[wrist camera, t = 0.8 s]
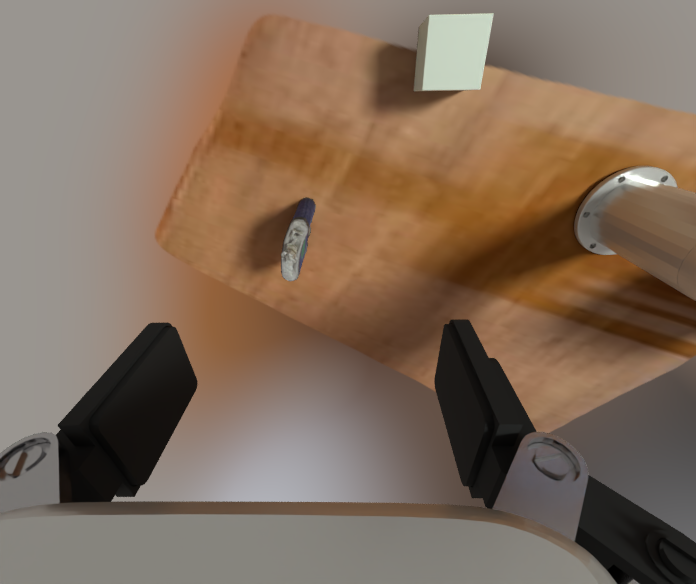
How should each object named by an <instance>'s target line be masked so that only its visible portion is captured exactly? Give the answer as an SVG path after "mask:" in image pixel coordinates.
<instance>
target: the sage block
mask: <svg viewBox="0 0 696 584" xmlns="http://www.w3.org/2000/svg"><path fill="white" fill-rule="evenodd" d="M492 20H493V14H452V15H429V16H428V17H427V18H426V20H425V21H424V22H423V23H422V24H421V25H420V26H419V31H418V43H417V56H416V69H415V81H414V91H458V90H478V89H480V88H481V82H482V76H483V71H484V65H485V59H486V54H487V47H488V42H489V37H490V31H491V25H492Z"/></svg>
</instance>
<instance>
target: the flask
mask: <svg viewBox="0 0 696 584" xmlns="http://www.w3.org/2000/svg"><path fill="white" fill-rule="evenodd" d="M315 208H316V205H315V202H314V201H313V199H310V198H303V199H302V200H301V201H300V203H299V205H298V207H297V210H296V212H295V215H294V217H293V219H292V221H291V223H290V225H289V227H288V230H287V233H286V235H285V238H284V242H283V248H282V254H281V273H282V276H283V278H284V279H286V280H288V281H294V280H297V278H298V276H299V274H300V269H301V266H302V262H303V259H304V256H305V253H306V251H307V246H308V242H307V241H308V238H309V236H310V233H311V228H310V224H311V222H312V218H313V215H314V212H315Z"/></svg>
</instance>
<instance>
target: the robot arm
mask: <svg viewBox="0 0 696 584" xmlns="http://www.w3.org/2000/svg"><path fill="white" fill-rule="evenodd" d="M574 231H575V236H576V238H577V240H578V242H579V243H580V244H581V245H582V246H583V247H584V248H586V249H587V250H589V251H591V252H593V253H596V254H601V255H613V254H618V255H620V256H621V257H623V258H625V259H626V260H628V261H630V262H631V263H633V264H635V265H636V266H638V267H640V268H641V269H643V270H645V271H646V272H648V273H650V274H651V275H653V276H655V277H656V278H658V279H660V280H661V281H663V282H665V283H666V284H668V285H670V286H671V287H673V288H675V289H676V290H678V291H680V292H681V293H683V294H685V295H686V296H688V297H690V298H691V299H693V300H695V301H696V193H694V192H691V191H687V190H684V189H680V188H678V187H677V184H676V181H675V179H674V178H673V177H672V175H671V174H669V173H668V172H667V171H665V170H663V169H660V168H657V167H652V166H635V167H630V168H627V169H624V170H621V171H618V172H617V173H615V174H613V175H611V176H609V177H607V178H606V179H605V180H603V181H602V182H600V183H599V184H598V185H597V186H596V187H595V188H594V189H593V190H592V191H591V192H590V193H589V194H588V195H587V196H586V198H585V199H584V201H583V202H582V204H581V205H580V207H579V209H578V212H577V214H576V218H575V222H574ZM196 388H197V379H196V376H195V374H194V371H193V369H192V366H191V364H190V361H189V359H188V356H187V354H186V352H185V349H184V347H183V344H182V341H181V339H180V336H179V334H178V332H177V330H176V328H175V327H172V325H171V324H170V323H150V324H148V325H147V326H146V328H145V329H144V330H143V331H142V332H141V333H140V334H139V335H138V337H136V339H135V340H134V341H133V342H132V343H131V344H130V345H129V346H128V347H127V349H126V350H125V351H124V352H123V353H122V354H121V355H120V356H119V357H118V359H117V360H116V361H115V362H114V363H113V364H112V365H111V366H110V367H109V369H108V370H107V371H106V372H105V373H104V374H103V375H102V376H101V378H100V379H99V380H98V381H97V382H96V383H95V384H94V385H93V386H92V388H91V389H90V390H89V391H88V392H87V393H86V394H85V395H84V397H82V399H81V400H80V401H79V402H78V403H77V404H76V405H75V406H74V408H73V409H72V410H71V411H70V412H69V413H68V414H67V415H66V417H65V418H64V419H63V420H62V421H61V422H60V423H59V424H58V427H59V428H60V429H61V430H60V431H59V432H58V433H57V434H56V435H54V434H52V433H47V432H43V433H38V434H33V435H31V436H28V437H25V438H23V439H21V440H19V441H18V442H16V443H14V444H12V445H11V446H9V447H8V448H6V449H5V450H4V451H2V452H1V453H0V584H696V543H695V542H694V541H692V540H691V539H690V538H688V537H687V536H685V535H684V534H683V533H681V532H679V531H678V530H676V529H675V528H673V527H671V526H670V525H668V524H666V523H665V522H663V521H662V520H660V519H658V518H657V517H655V516H654V515H652V514H650V513H649V512H647V511H646V510H644V509H642V508H641V507H639V506H638V505H636V504H634V503H633V502H631V501H629V500H628V499H626V498H625V497H623V496H621V495H620V494H618V493H617V492H615V491H613V490H612V489H610V488H609V487H607V486H605V485H604V484H602V483H601V482H599V481H597V480H596V479H594V478H592V477H591V476H589V475H588V468H587V466H586V463H585V461H584V459H583V458H582V456H581V455H580V454H579V452H578V451H577V450H576V449H575V448H574V447H573V446H571V445H570V444H569V443H568V442H566V441H564V440H563V439H561V438H560V437H557V436H555V435H553V434H550V433H545V432H536V430H535V428H534V426H533V424H532V422H531V421H530V419H529V417H528V415H527V413H526V411H525V410H524V408H523V406H522V404H521V402H520V400H519V399H518V397H517V395H516V393H515V391H514V389H513V388H512V386H511V384H510V382H509V380H508V378H507V377H506V375H505V373H504V371H503V369H502V367H501V366H500V364H499V362H498V361H497V360H496V359H495V358H488V356H487V354H486V352H485V350H484V348H483V346H482V344H481V342H480V340H479V338H478V336H477V334H476V332H475V331H474V329H473V327H472V325H471V323H470V321H469V320H450V323H449V324H445V325H444V329H443V334H442V340H441V346H440V351H439V357H438V363H437V368H436V374H435V389H436V393H437V396H438V400H439V403H440V407H441V411H442V414H443V418H444V421H445V425H446V429H447V432H448V435H449V439H450V443H451V446H452V450H453V454H454V457H455V461H456V464H457V468H458V471H459V475H460V478H461V482H462V484H463V486H469V490H470V493H471V497H472V498H483V500H484V503H485V506H486V507H487V508H482V507H474V506H460V505H447V504H414V503H412V504H411V503H352V502H350V503H349V502H348V503H346V502H344V503H343V502H111V501H112V499H113V497H114V496H115V495H116V496H117V497H135V495H136V493H137V491H138V489H139V488H140V486H141V485H143V484H145V483H146V482H147V480H148V479H149V477H150V475H151V473H152V471H153V469H154V467H155V465H156V464H157V462H158V460H159V458H160V456H161V454H162V452H163V450H164V449H165V447H166V445H167V443H168V441H169V439H170V437H171V436H172V434H173V432H174V430H175V428H176V426H177V424H178V422H179V421H180V419H181V417H182V415H183V413H184V411H185V409H186V407H187V406H188V404H189V402H190V400H191V398H192V396H193V395H194V393H195V391H196Z"/></svg>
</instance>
